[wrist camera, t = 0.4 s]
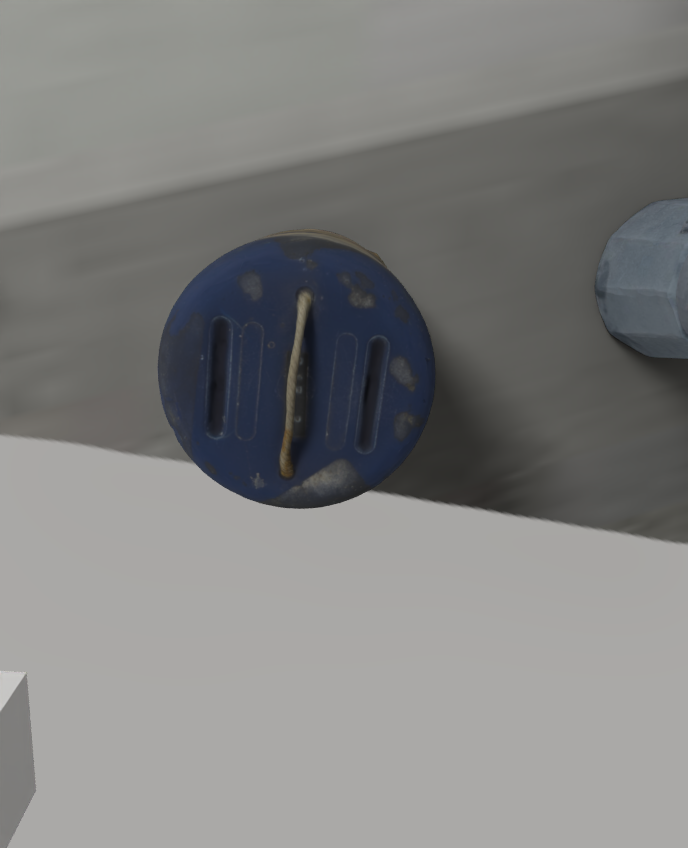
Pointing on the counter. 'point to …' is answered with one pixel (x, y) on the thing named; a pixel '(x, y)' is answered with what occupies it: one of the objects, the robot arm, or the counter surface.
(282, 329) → the canister
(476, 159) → the counter surface
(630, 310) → the moka pot
